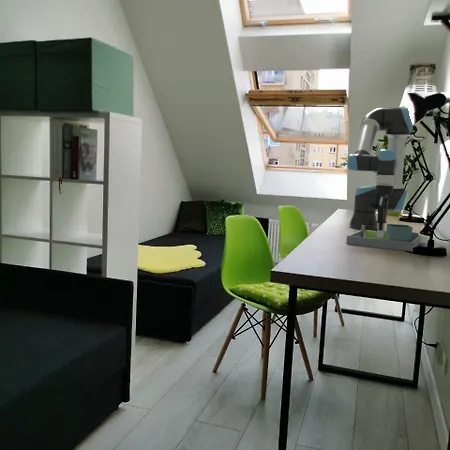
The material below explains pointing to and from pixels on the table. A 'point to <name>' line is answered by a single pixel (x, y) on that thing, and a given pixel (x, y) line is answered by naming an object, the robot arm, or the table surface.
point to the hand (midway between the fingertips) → (380, 237)
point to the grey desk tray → (382, 241)
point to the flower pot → (399, 232)
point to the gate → (374, 234)
